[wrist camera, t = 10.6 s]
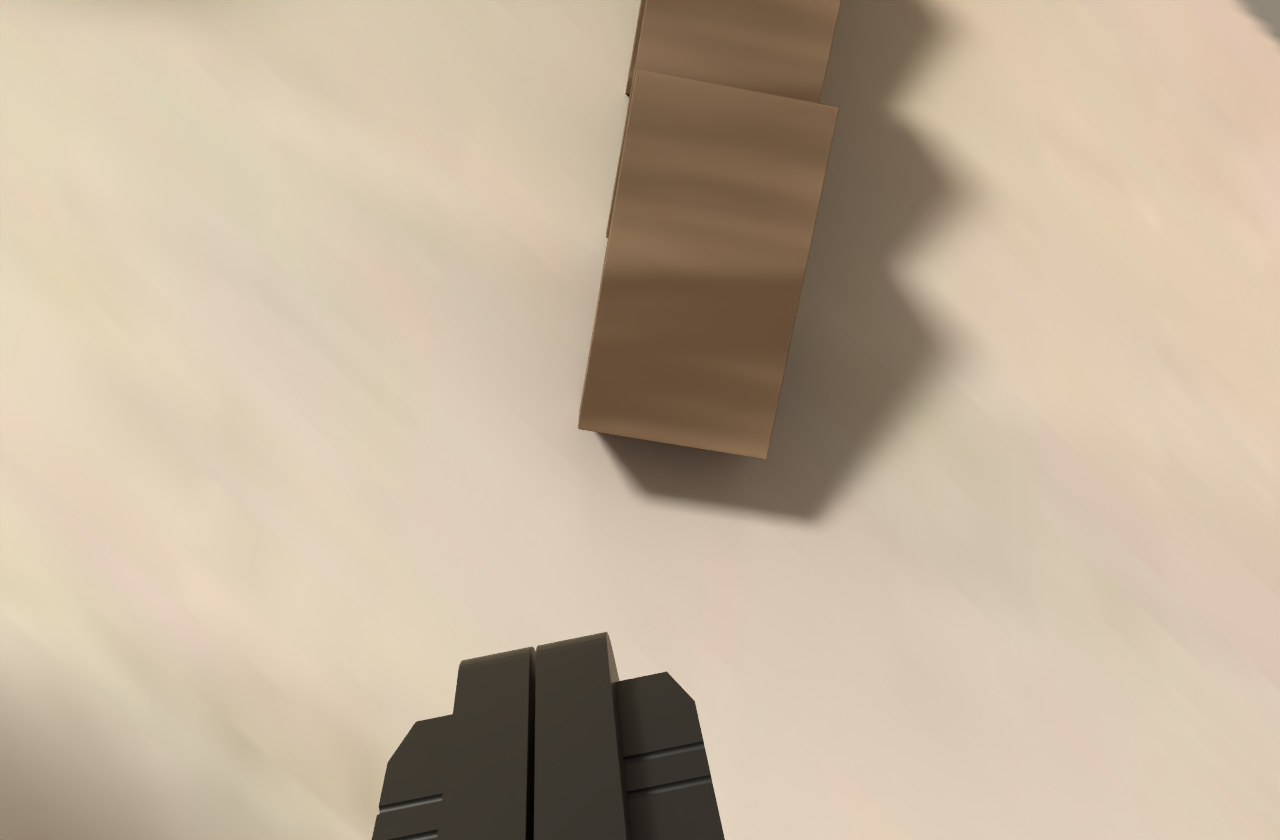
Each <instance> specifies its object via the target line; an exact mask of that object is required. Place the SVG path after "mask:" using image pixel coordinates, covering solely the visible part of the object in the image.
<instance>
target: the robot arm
mask: <svg viewBox="0 0 1280 840" xmlns="http://www.w3.org/2000/svg"><path fill="white" fill-rule="evenodd" d="M379 809H380V814H379V815H377V817H376V822H375V827H374V832H373V837H372V840H725V839H724V834H723V830H722V825H721V820H720V816H719V811H718V807H717V802H716V797H715V793H714V788H713V784H712V779H711V774H710V770H709V765H708V760H707V756H706V751H705V747H704V742H703V737H702V733H701V728H700V724H699V719H698V714H697V710H696V705H695V701H694V700H693V699H692V698H691V697H690V696H689V695H688V694H687V693H686V692H685V691H684V689H683V688H682V687H681V686H680V685H679V684H678V683H677V682H676V681H675V680H674V679H673V678H672V677H671V676H670V675H669V674H668V673H667V672H663V673H658V674H653V675H648V676H643V677H638V678H633V679H628V680H623V681H619V677H618V673H617V668H616V664H615V659H614V655H613V651H612V646H611V642H610V639H609V635H608V633H607V632H604V633H599V634H594V635H589V636H584V637H579V638H574V639H569V640H564V641H559V642H554V643H549V644H544V645H539V646H537V649H536V651H535V649H534V648H533V647H528V648H523V649H518V650H513V651H508V652H503V653H498V654H493V655H488V656H483V657H478V658H473V659H468V660H463V661H461V663H460V666H459V671H458V679H457V686H456V694H455V702H454V710H453V714H452V715H447V716H442V717H437V718H432V719H427V720H422V721H417V722H416V723H415V724H414V725H413V727H412V728H411V730H410V731H409V733H408V734H407V736H406V737H405V738H404V740H403V741H402V743H401V744H400V746H399V747H398V749H397V750H396V751H395V753H394V754H393V756H392V757H391V759H390V760H389V762H388V764H387V769H386V774H385V778H384V783H383V788H382V793H381V798H380V803H379Z"/></svg>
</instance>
